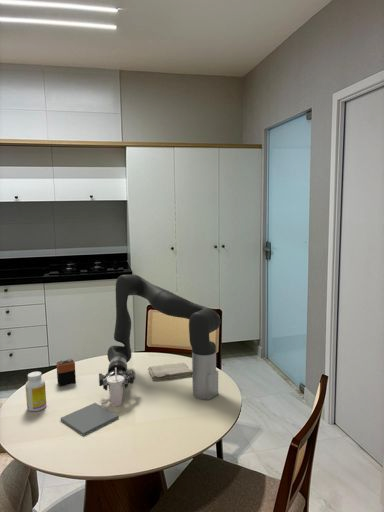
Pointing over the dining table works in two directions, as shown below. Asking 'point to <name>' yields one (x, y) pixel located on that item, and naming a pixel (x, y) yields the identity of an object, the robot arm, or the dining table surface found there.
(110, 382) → the smoothie
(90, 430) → the coaster
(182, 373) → the washcloth
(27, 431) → the dining table surface
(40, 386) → the supplement bottle
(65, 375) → the battery
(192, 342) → the robot arm
